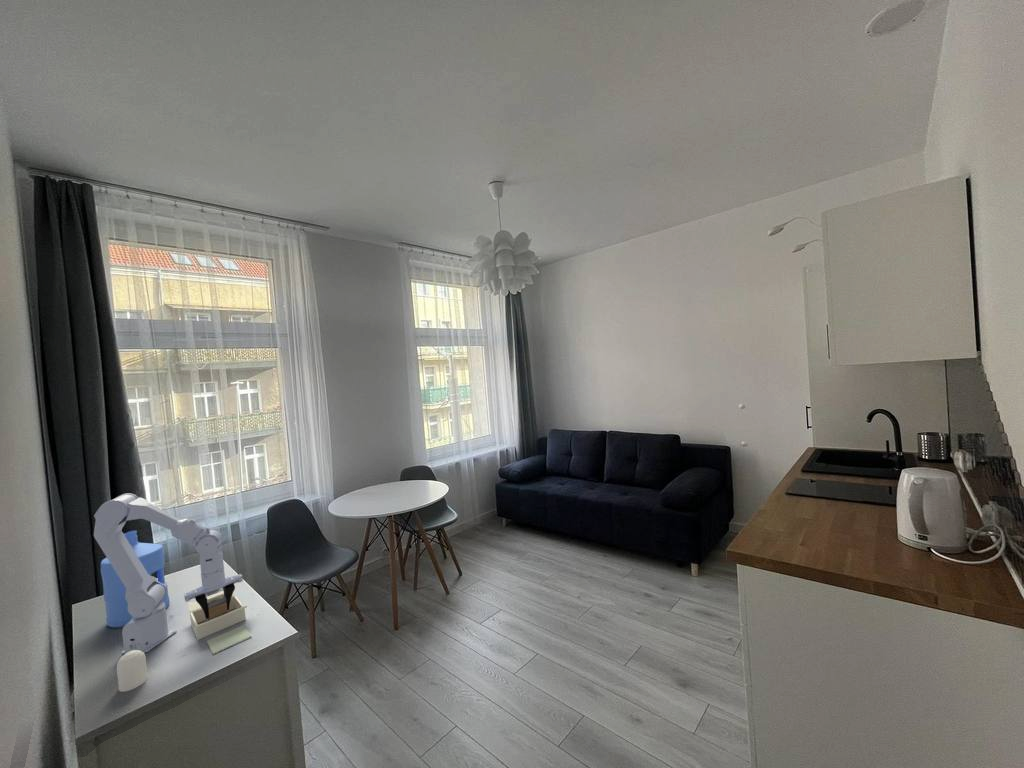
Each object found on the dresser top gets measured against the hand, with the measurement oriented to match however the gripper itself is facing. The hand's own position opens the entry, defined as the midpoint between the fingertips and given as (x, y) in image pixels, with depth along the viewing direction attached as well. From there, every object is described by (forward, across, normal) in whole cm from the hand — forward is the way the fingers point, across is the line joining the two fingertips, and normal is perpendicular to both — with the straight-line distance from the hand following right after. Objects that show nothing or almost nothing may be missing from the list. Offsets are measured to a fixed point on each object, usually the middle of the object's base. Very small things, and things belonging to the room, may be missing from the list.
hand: (217, 613), depth 126 cm
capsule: (+3, +20, +15) cm, 25 cm away
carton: (+3, 0, 0) cm, 3 cm away
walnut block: (+2, 0, 0) cm, 2 cm away
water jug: (+3, +17, -32) cm, 36 cm away
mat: (+3, 0, +14) cm, 15 cm away
